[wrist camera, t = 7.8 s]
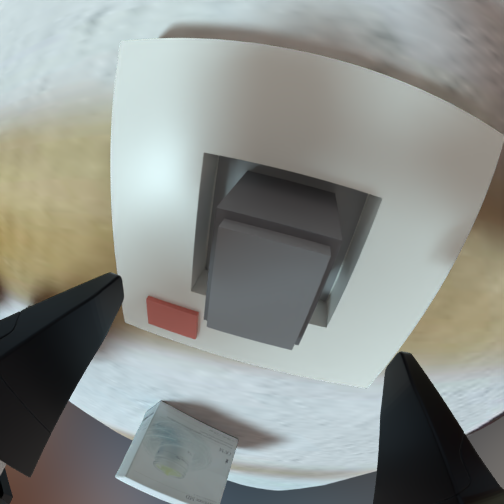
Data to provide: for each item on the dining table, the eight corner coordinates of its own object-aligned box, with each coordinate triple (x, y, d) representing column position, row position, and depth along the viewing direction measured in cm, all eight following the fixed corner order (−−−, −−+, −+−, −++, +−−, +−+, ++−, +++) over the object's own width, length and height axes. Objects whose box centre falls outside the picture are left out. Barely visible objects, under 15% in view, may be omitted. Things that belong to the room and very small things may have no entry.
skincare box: (241, 438, 29) (218, 515, 20) (215, 446, 32) (193, 511, 24) (161, 398, 27) (123, 478, 19) (145, 411, 31) (113, 477, 22)
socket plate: (365, 359, 18) (367, 392, 16) (142, 298, 19) (122, 325, 17) (477, 126, 9) (509, 137, 7) (150, 45, 11) (116, 40, 8)
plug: (305, 281, 15) (297, 356, 11) (231, 262, 15) (198, 329, 11) (335, 193, 12) (343, 250, 8) (247, 170, 13) (210, 215, 8)
